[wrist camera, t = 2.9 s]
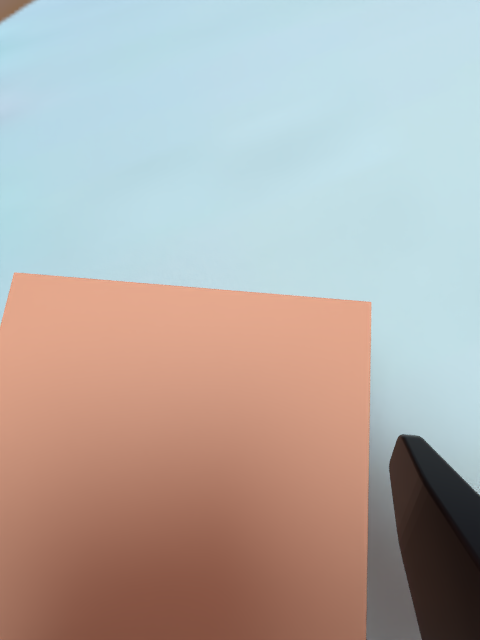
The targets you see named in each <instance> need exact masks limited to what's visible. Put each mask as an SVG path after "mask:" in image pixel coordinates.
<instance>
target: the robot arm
mask: <svg viewBox="0 0 480 640" xmlns="http://www.w3.org/2000/svg"><path fill="white" fill-rule="evenodd" d="M389 472H390V480H391V488H392V496H393V504H394V511H395V519H396V527H397V534H398V541H399V546H400V551H401V555H402V560H403V564H404V568H405V572H406V576H407V580H408V584H409V588H410V592H411V597H412V601H413V605H414V609H415V613H416V617H417V621H418V625H419V630H420V634H421V638H422V640H480V495H479V494H478V493H477V492H476V491H475V490H474V489H473V488H472V487H471V486H470V485H469V484H468V483H467V482H466V481H465V480H464V479H463V478H462V477H461V476H460V475H459V474H458V473H457V472H456V471H455V470H454V469H453V468H452V467H451V466H450V465H449V464H448V463H447V462H446V461H445V460H444V459H443V458H442V457H441V456H440V455H439V454H438V453H437V452H436V451H435V450H434V449H433V448H432V447H431V446H430V445H429V444H428V443H427V442H426V441H425V440H424V439H423V438H421V437H420V436H415V435H405V434H402V435H400V436H399V437H398V439H397V441H396V444H395V447H394V450H393V453H392V456H391V459H390V464H389Z"/></svg>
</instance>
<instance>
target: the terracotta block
mask: <svg viewBox="0 0 480 640" xmlns="http://www.w3.org/2000/svg"><path fill="white" fill-rule="evenodd" d="M370 353H371V302H364V301H352V300H340V299H328V298H316V297H304V296H292V295H280V294H268V293H256V292H244V291H231V290H219V289H207V288H195V287H183V286H171V285H159V284H147V283H135V282H123V281H111V280H98V279H86V278H74V277H62V276H50V275H38V274H26V273H14V275H13V279H12V283H11V287H10V291H9V295H8V299H7V303H6V307H5V310H4V314H3V318H2V322H1V326H0V640H366V613H367V548H368V483H369V418H370Z"/></svg>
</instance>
